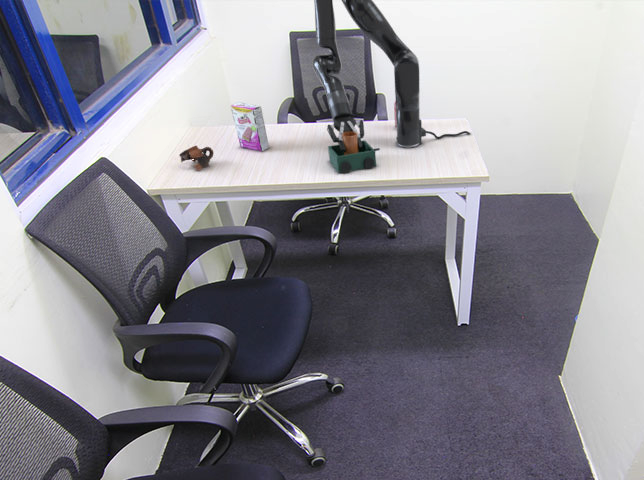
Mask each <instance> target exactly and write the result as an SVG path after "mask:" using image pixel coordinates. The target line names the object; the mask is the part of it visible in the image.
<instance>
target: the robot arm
mask: <svg viewBox="0 0 644 480" xmlns="http://www.w3.org/2000/svg"><path fill="white" fill-rule="evenodd" d="M340 1H341V3H342V4H343V6H344V8H345V10H346V12H347V13H348V15H349V17H350V18H351V19H352V21H353V22H354V23H355V25H356V26H357V27H358V28H359V29H360V31H361V32H362V33H363V34H364V35H365V36H366V37H367V38H368V39H369V40H370V41H371V42H372V43H374V44H375V45H376V46H377V47H378V48H380V50H382V52H383V53H384V54H385V55H386V56H387V58H388V59H389V61H390V62H391V64H392V66H393V74H394V75H393V77H394V94H395V101H396V124H397V128H396V145H397V146H398V147H400V148H405V149H410V148H411V149H412V148H416V147H418V146H421V145H422V143H423V141H422V140H423V139H422V138H423V137H426V136H427V134H428V135H429V134H430V135H432V136H433V137H434V138H435V139H436V140H440V139H442V138H444V137H458V136H461V135H463V134H467V135H471V133H470V132H469V131H467V130H463V131H461V132H458V133H443V134H441V135H440V136H437V135H436V133H435V132H433V131H430V130H426V129H425V128H424V127H423V126H422V124H423V123H422V119H420V118H421V117H420V92H421V91H420V89H421V88H420V63H419V62H420V61H419V59H418V57H417V55H416V54H415V53H414V52H413V51H412V50H411V49H410V48H409V47H408V45H406V44H405V43H404V42H403V40H402V39H401V37H399V36H398V34H397V33H396V32H395V30H394V28H393V27H392V26H391V24H390V23H389V21H388V19H387V18H386V17H385V15H384V13H383V12H382V11H381V10H380V9H379V7H378V6H377V4H376V3H375V1H373V0H340ZM313 2H314V3H313V4H314V21H315V22H314V23H315V25H314V27H315V40H316V41H315V42H316V45H317V46H318V47H319V48H322V49H326V50H328V51H329V53H324V54H323V53H322V54H316V55H314V57H313V58H312V61H311V62H312V69H313V71H314V73H315V75H316V77H317V79H318V80H319V81H320V84H321V85H322V87H323V89H324V92H325V95H326V99H327V105H328V109H329V112H330V115H331V119H332V122H333V124H327V126H326V131H327V133H328V134H329V136H330V138H331V141H332V142H333V143H337V144H338V145H339V146H340V149H341V151H343V153H344V152H345V151H346V149H345V145H344V142H343V139H342V134H343V133H344V132H350V131H352V132H356V133H357V138H358V149H359V150H361V148H362V142H361V141H362V139H363V138H364V136H365V126H364V120H363V119H360V120H356V119H355V118H354V115H353V111H352V108H351V105H350V102H349V98H348V96H347V93H346V91H345V87H344V83H343V80H342V79H341V78H340V77H338V75H340V73H341V72H342V69H343V64H342V60H341V57H340V53H339V49H338V44H337V32H336V31H337V29H336V17H335V10H334V1H333V0H313ZM356 126H357V128H358V129H359V130H357V129H356ZM335 130H336V131H337V132H338V137H337V134H336V133H335ZM358 131H359V132H358Z"/></svg>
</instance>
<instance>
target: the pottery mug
mask: <svg viewBox="0 0 644 480" xmlns="http://www.w3.org/2000/svg"><path fill="white" fill-rule="evenodd" d="M207 152H209V154H208V155H207ZM214 154H215V153H214V150H213V149H212V148H211V146H205V147H203V148H199V147H198V145H193V146H191V147H189V148H187V149H185V150H184V151H183V150H182V152H181V153H179V157H180V162H181V163H183V162H185V161H190V160H191V161H192V162H193V163H195V162H197V163H196V164H194V165H193V166H194V168H195V169H196V171H197V172H199V171H200V170H202V169H205V168H208V167H210V163H211V162H210V161H211V159H212V158H213V157H214ZM192 159H194V160H192Z"/></svg>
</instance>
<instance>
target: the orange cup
mask: <svg viewBox="0 0 644 480" xmlns="http://www.w3.org/2000/svg"><path fill="white" fill-rule="evenodd" d="M342 141H343V142H344V145H345V149H346V151H345V152H344V155H348V154H354V153H359V150H358V138H357V133H356V132H352V131H350V132H344V133H343V134H342Z"/></svg>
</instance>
